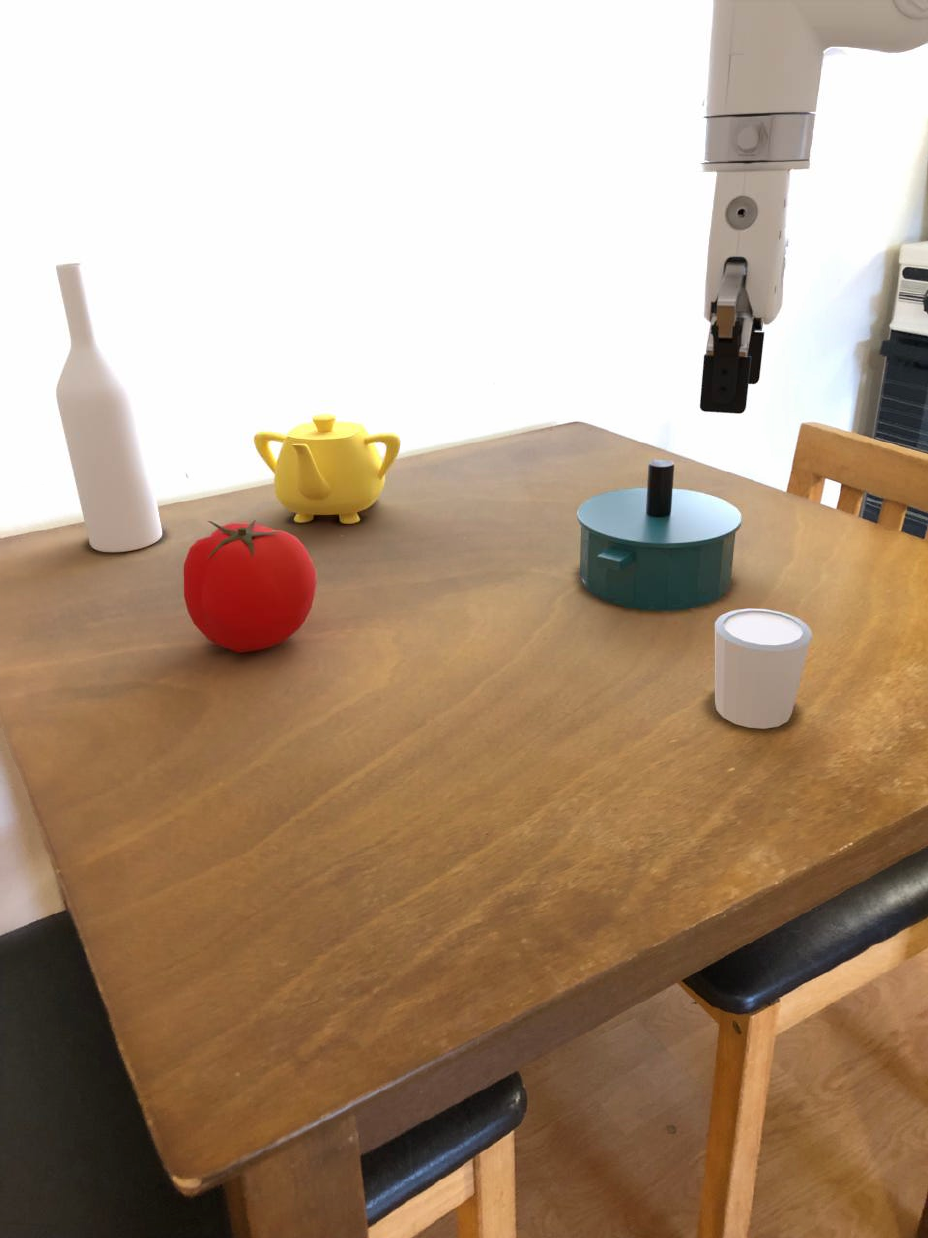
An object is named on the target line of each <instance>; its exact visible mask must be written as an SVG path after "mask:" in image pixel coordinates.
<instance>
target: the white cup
mask: <svg viewBox="0 0 928 1238" xmlns="http://www.w3.org/2000/svg"><path fill="white" fill-rule="evenodd" d="M812 638H813V632H812V631H811V628H810V626H809V625H808V624H807V623H806V622H804V621H803V620H802V619H800V618H798V617H796V616H794V615H792V614H788V613H786V612H783V611H777V610H772V609H768V608H749V607H748V608H741V609H734V610H730V611H728V612H725V613H724V614H721V615H719V616H718V618H717V619H716V620H715V622H714V690H715V691H714V698H715V699H714V703H715V704H714V705H715V710H716V712H717V713H718V714H719V716H721V717H722V718H723V719H725V720H727V721H728V722H730V723H732V724H734V725H738V726H741V727H745V728H749V729H762V730H763V729H764V730H766V729H770V728H778V727H780V726H782V725H784V724H785V723H788V721H789V720H790V718H791V716H792V714H793V710H794V707H795V702H796V699H797V696H798V695H797V694H798V692H799V691H798V690H799V687H800V683H801V680H802V676H803V672H804V669H805V664H806V661H807V657H808V653H809V649H810V647H811V646H810V645H811V642H812Z"/></svg>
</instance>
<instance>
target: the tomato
mask: <svg viewBox="0 0 928 1238" xmlns="http://www.w3.org/2000/svg"><path fill="white" fill-rule="evenodd" d="M256 521H257V519H255V520H253V521H252V522H250V523H249V522H230V523H227V524H225V525H222V526H221V525H220V524H217V523H215V522H213V521H212V520H211V521H210V520H207V522H208V523H210V524H211V525H213V526H214V527H216V528H217V529H215V530H214V531H212V532H211V534H210V535H209V536H207V537H203V538H199V539H197V540H196V541H195V542H194V543H193V544H192V545H191V546H190V548H189V549H188V552H187V555H186V556H185V557H186V558H185V560H184V562H183V598H184V602H185V605H186V609H187V613H188V615H189V617H190V619H191V621H192V623H193V624H194V626H195V627H196V628H197V629H198V630H199V631H200V632H201V634H202V635H203V636H204V637H205V638H206V639H207V640H208V641H210V642H212V643H213V644H215V645H217V646H219V647H222V648H225V649H227V650H230V651H233V652H236V653H239V654H240V653H241V654H242V653H249V652H254V651H259V650H265V649H269V648H271V647H273V646H276V645H278V644H280V643H283V642H285V641H286V640H287V639H289V638H290V637H291V636H293V634H294V633H296V632H297V631H298V630H299V629H300V628H301V627H302V625H303V624H304V622H306V620H307V618H308V615H309V614H310V612H311V609H312V608H313V603H314V599H315V594H316V587H317V575H316V569H315V564H314V563H313V560H312V558H311V556H310V554H309V552H308V550H307V548H306V547H305V545H304V544H303V543H302V541H300V539H299V538H298V537H297V536H296V535H293V534H291V533H289V532H287V531H286V530H282V529H281V530H278V529H277V530H274V529H273V528H271V527H268V526H264V525H260V524H256Z"/></svg>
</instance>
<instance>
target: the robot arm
mask: <svg viewBox="0 0 928 1238" xmlns="http://www.w3.org/2000/svg"><path fill="white" fill-rule="evenodd" d="M706 36H707V37H706V52H705V63H704V64H705V65H704V77H703V91H702V105H701V119H700V133H699V144H698V145H699V146H698V160H697V170H696V171H697V172H700V173H713V175H712V184H711V185H712V187H711V197H710V203H709V217H708V228H707V238H706V239H707V240H706V252H705V265H704V268H705V269H704V279H703V280H704V282H703V283H704V284H703V303H702V305H703V307H702V308H703V309H702V310H703V312H702V313H703V317H704V318H705V320H706V321H707V322H708V323H710V325H709V331H708V337H707V343H706V348H705V354H703V362H702V363H703V365H702V374H701V375H702V376H701V386H700V387H701V388H700V398H699V399H700V400H699V409H700V410H701V411H702V412H706V413H722V414H739V415H740V414H744V412H745V411H746V408H747V402H748V392H749V385H756V384H757V383H758V382H759V381H760V376H761V367H762V358H763V350H764V340H765V331H763V327H764V326H766V325H767V326H768V325H770V324H772V322H773V321H775V320H776V319H777V317H778V315H779V313H780V311H781V309H782V307H783V301H784V290H785V288H784V287H785V279H786V267H787V261H788V260H787V259H788V250H789V242H790V241H789V240H790V232H791V222H792V211H793V199H794V198H793V197H794V195H793V194H794V170H796V171H797V170H809V169H810V170H811V165H812V160H811V159H812V155H813V146H814V139H815V130H816V124H817V123H816V122H817V113H818V106H819V99H820V91H821V83H822V76H823V66H824V65H827V66H835V67H837V66H847V65H852V64H856V63H860V62H861V63H862V62H865V61H870V60H878V59H883V58H889V57H893V56H899V55H902V54H907V53H910V52H913V51H915V50H919V49H920V48H922V47H924V46H926V45H928V0H709V11H708V25H707V35H706Z"/></svg>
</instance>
